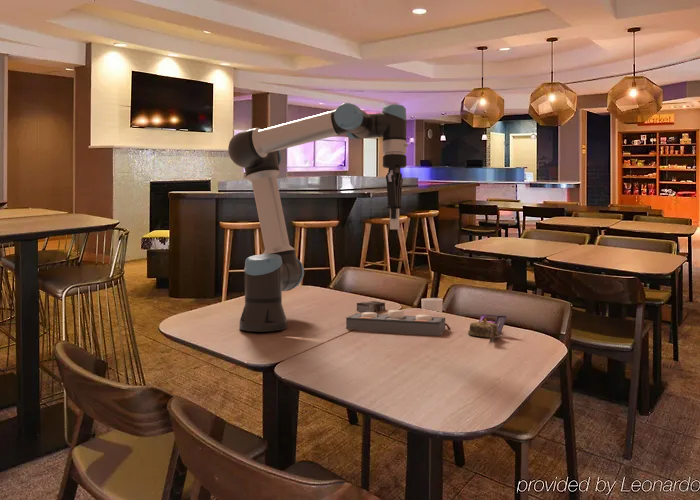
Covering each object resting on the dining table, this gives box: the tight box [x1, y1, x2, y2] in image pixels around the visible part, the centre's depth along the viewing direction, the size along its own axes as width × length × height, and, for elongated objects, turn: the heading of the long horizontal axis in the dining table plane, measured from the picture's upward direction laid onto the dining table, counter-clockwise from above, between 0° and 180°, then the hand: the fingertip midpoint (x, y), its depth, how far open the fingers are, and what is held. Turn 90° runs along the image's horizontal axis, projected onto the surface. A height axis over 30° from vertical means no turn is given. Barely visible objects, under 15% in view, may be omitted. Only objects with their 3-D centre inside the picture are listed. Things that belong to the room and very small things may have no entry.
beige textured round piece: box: [467, 318, 502, 338], centre depth 170 cm, size 10×10×5 cm
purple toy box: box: [478, 313, 508, 335], centre depth 177 cm, size 7×5×9 cm
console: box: [345, 312, 446, 337], centre depth 178 cm, size 30×11×4 cm, turn 71°
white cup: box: [421, 297, 444, 313], centre depth 206 cm, size 8×8×10 cm
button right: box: [415, 314, 433, 321], centre depth 175 cm, size 5×5×3 cm
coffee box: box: [356, 300, 386, 313], centre depth 201 cm, size 9×6×16 cm
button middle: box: [387, 309, 405, 320], centre depth 178 cm, size 5×5×3 cm
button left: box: [361, 312, 378, 318], centre depth 181 cm, size 5×5×3 cm
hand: (394, 229), depth 176 cm, fingers closed
